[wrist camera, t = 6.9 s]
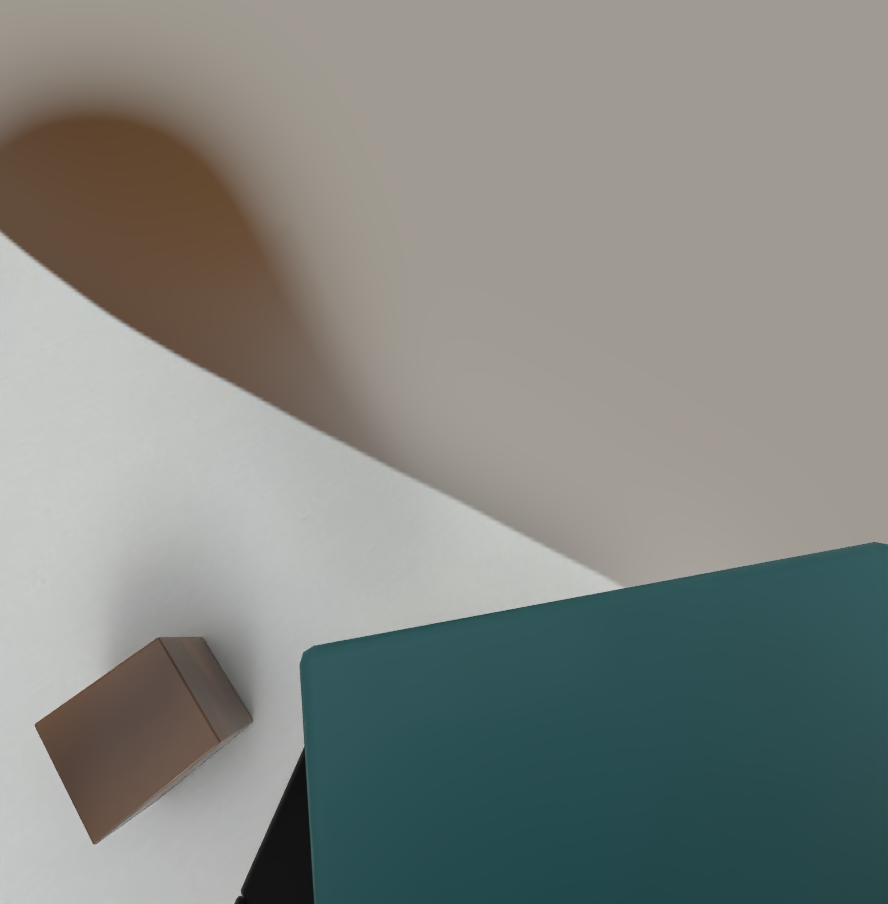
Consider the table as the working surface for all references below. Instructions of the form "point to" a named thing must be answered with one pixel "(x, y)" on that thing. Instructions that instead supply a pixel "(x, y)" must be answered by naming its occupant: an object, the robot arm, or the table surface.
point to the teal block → (614, 746)
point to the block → (141, 730)
